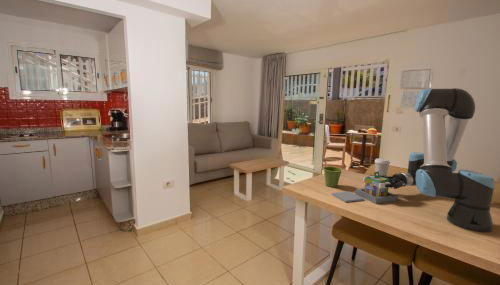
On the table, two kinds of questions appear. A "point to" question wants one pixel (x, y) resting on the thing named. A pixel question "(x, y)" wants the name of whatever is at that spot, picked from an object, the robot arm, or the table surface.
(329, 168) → the plant pot
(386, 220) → the table surface
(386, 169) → the coffee cup
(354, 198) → the pad
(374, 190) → the chalk box
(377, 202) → the collar
